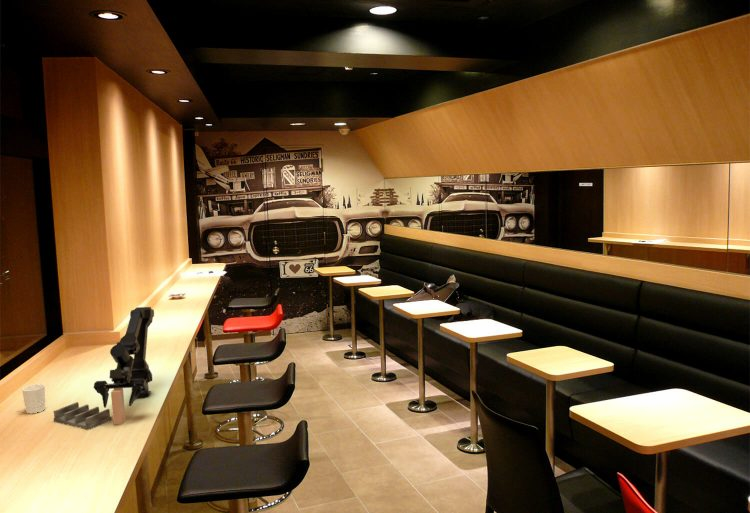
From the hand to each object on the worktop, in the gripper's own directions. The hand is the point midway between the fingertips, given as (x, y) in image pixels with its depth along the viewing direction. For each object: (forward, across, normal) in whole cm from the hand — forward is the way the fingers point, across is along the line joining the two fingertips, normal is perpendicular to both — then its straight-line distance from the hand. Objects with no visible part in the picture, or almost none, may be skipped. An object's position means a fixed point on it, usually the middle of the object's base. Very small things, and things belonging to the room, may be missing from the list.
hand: (117, 406), depth 230 cm
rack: (+1, -15, +9) cm, 18 cm away
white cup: (-8, -39, +18) cm, 44 cm away
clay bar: (+4, 0, +6) cm, 7 cm away
